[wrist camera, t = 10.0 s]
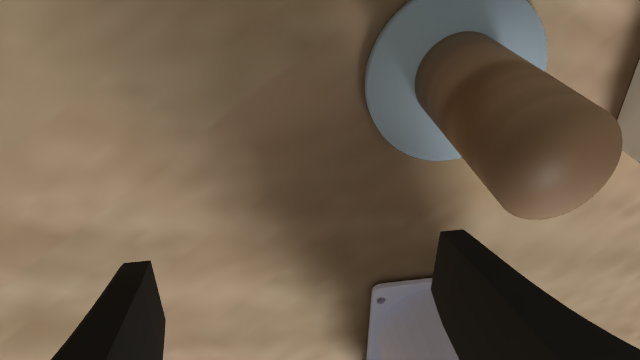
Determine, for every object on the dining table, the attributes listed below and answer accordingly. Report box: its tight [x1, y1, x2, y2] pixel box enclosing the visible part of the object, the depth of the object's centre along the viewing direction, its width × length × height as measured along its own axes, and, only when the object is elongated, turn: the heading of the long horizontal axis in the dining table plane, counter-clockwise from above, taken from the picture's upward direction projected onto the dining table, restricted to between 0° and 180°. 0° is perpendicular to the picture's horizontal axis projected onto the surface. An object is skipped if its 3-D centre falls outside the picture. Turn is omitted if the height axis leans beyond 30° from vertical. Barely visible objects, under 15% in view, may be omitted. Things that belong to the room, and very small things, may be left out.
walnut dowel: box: [415, 31, 623, 220], centre depth 18 cm, size 4×4×8 cm
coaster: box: [364, 0, 547, 161], centre depth 21 cm, size 8×8×1 cm
